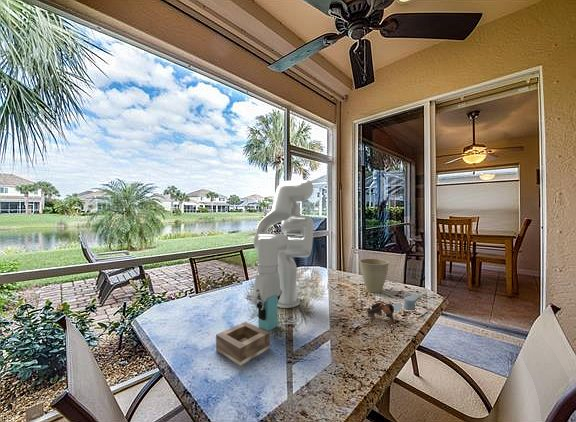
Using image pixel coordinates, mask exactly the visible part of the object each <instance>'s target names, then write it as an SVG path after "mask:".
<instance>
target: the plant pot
mask: <svg viewBox="0 0 576 422" xmlns="http://www.w3.org/2000/svg"><path fill="white" fill-rule="evenodd" d="M389 263H390V262H389V260H385V259H380V258H363V259H359V266H360V271H361V272H360V273H361V276H362V280H363V284H364V286H365V289H366V291H367V292H369V293H372V294H379V293H381V292H382V290H383V288H384V285H385V283H386V278H387V275H388V270H389V265H390V264H389Z"/></svg>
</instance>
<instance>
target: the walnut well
mask: <svg viewBox="0 0 576 422" xmlns="http://www.w3.org/2000/svg"><path fill="white" fill-rule="evenodd" d="M215 341H216V342H215V350H216V351H217V352H218V353H219V354H221V355H222V356H225V357H226V358H227V359H229V360H231V361H232V362H233V363H235V364H236V365H238V366H242V365H244V364H245V363H248V362H249V361H250V360H253V359H254V358H255V357H258V356H259V355H261V354H262V353H264V352H267V351H268V350H269V349H270V348H271V333H270V331H267V330H264V329H262V328H260V327H259V326H257V325H254V324H252V323H250V322H247V321H244V322H241V323H239V324H237V325H235V326H232V327H230V328H227V329H225V330H223V331H222V332H219V333H217V334H215Z"/></svg>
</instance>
